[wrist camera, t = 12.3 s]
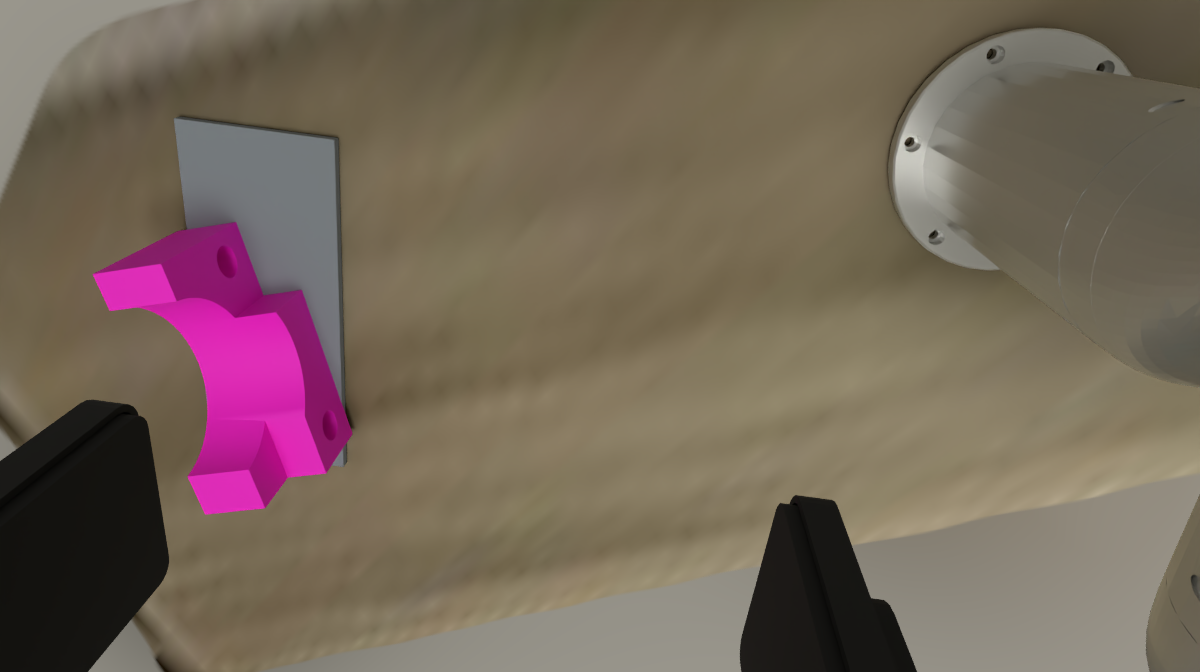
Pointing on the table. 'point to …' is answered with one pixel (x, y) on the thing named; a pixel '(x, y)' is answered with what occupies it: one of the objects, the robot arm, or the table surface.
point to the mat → (274, 213)
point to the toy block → (239, 364)
